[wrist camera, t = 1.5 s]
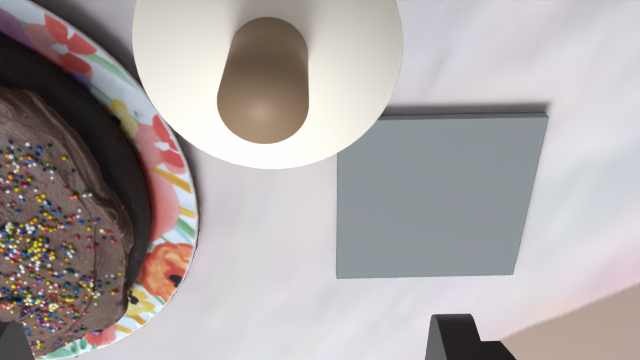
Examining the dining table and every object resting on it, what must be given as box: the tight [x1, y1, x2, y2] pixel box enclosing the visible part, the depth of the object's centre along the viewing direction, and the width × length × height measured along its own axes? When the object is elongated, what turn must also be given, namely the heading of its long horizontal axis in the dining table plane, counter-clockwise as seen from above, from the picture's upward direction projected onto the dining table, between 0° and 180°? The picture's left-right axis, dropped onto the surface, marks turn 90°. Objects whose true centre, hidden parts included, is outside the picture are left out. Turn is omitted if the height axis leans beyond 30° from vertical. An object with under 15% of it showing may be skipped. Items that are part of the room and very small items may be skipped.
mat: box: [336, 113, 548, 279], centre depth 37 cm, size 12×12×1 cm
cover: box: [132, 0, 403, 169], centre depth 23 cm, size 11×11×6 cm
